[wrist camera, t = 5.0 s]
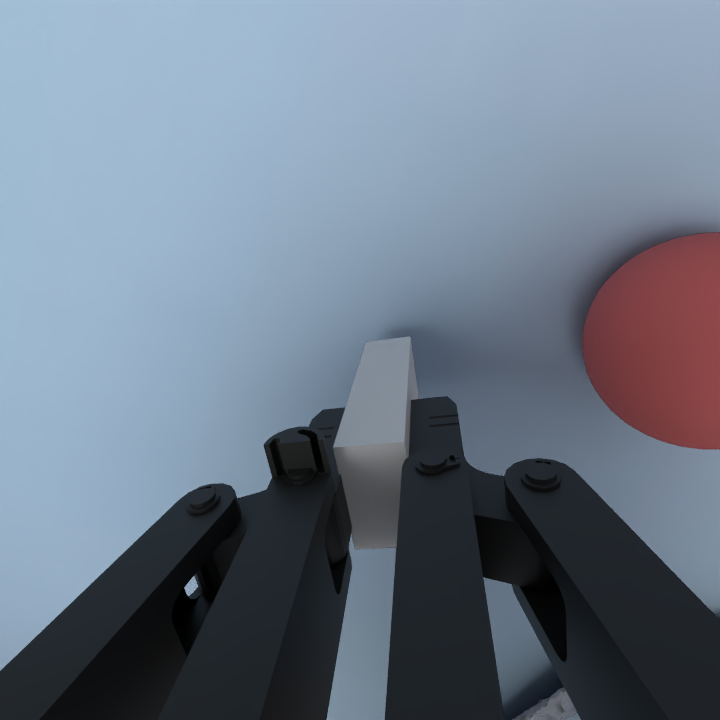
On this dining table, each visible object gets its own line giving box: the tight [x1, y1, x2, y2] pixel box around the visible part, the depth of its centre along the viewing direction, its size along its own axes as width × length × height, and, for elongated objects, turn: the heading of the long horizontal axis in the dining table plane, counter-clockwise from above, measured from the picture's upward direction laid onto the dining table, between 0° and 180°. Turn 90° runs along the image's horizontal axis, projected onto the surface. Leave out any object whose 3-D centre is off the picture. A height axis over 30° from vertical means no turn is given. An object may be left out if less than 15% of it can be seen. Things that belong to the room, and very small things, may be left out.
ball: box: [582, 233, 720, 449], centre depth 13 cm, size 6×6×6 cm
